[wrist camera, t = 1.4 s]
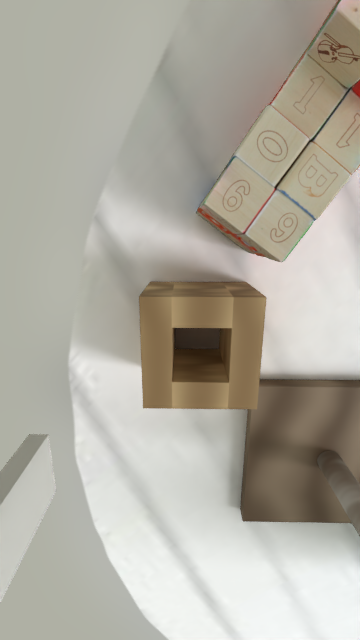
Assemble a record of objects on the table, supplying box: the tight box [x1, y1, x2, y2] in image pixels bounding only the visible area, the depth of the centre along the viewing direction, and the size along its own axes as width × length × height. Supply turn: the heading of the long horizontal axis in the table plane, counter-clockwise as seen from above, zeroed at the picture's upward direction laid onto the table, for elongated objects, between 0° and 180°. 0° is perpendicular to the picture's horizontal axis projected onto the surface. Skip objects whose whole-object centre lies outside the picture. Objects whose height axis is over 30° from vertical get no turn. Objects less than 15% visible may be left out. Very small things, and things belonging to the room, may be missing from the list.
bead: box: [139, 282, 266, 409], centre depth 26 cm, size 9×9×7 cm
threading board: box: [240, 379, 360, 536], centre depth 26 cm, size 17×17×14 cm
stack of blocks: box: [196, 0, 360, 262], centre depth 18 cm, size 21×6×12 cm, turn 145°
